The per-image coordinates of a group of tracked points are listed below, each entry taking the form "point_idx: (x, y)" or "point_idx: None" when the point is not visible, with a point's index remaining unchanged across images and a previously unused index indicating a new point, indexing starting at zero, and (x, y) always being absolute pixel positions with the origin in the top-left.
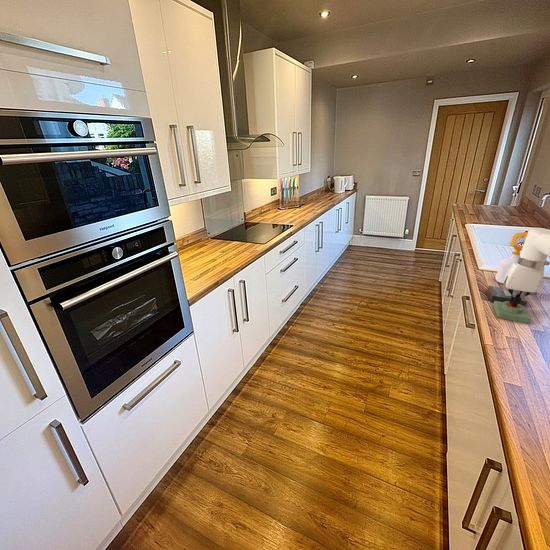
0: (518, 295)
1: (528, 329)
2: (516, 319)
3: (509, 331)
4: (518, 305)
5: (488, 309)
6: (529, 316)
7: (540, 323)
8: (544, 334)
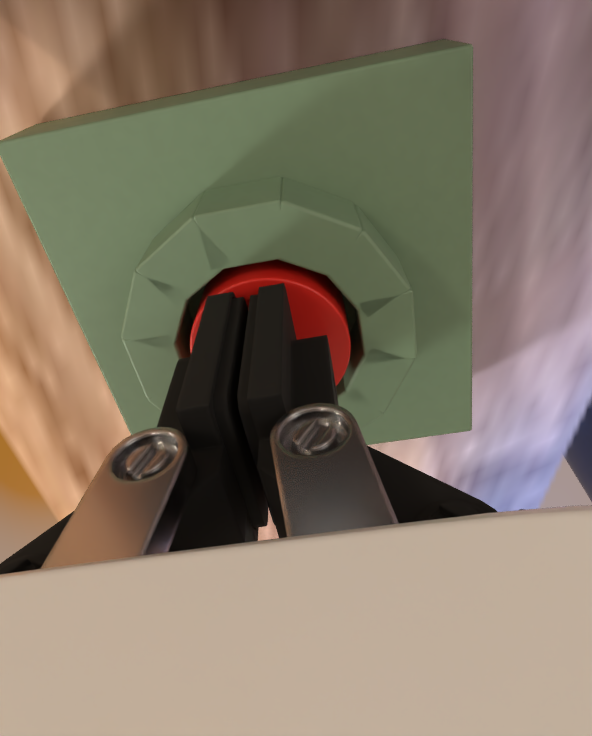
0: (277, 526)
1: None
2: None
3: None
4: (340, 326)
5: (35, 299)
6: (467, 386)
7: (582, 315)
8: (539, 492)
